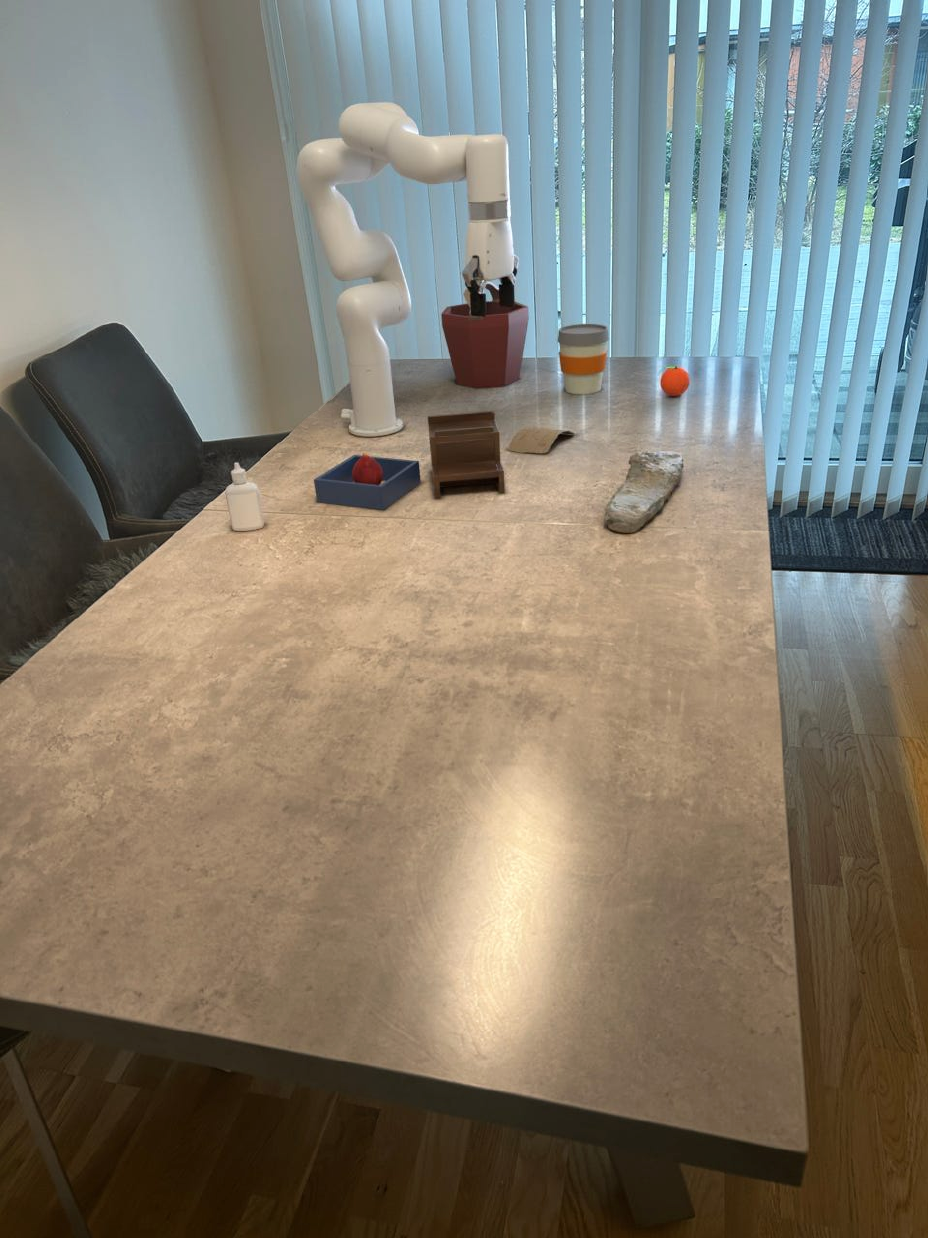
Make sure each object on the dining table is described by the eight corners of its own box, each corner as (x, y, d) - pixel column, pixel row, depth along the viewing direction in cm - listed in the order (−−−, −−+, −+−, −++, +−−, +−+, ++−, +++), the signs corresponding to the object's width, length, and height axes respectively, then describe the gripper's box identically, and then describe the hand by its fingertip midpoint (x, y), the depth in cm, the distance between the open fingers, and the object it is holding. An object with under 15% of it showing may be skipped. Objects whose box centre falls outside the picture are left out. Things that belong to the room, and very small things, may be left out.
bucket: (496, 395, 226) (491, 292, 214) (425, 387, 237) (417, 289, 225) (542, 372, 244) (540, 275, 232) (475, 366, 255) (469, 273, 243)
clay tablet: (548, 455, 183) (547, 442, 182) (505, 449, 188) (504, 437, 186) (577, 435, 193) (577, 423, 192) (536, 430, 198) (536, 418, 197)
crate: (317, 502, 168) (313, 479, 165) (356, 476, 179) (354, 454, 177) (384, 510, 162) (381, 486, 160) (421, 482, 173) (419, 460, 171)
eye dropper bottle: (255, 533, 156) (242, 468, 150) (228, 530, 158) (215, 466, 152) (268, 524, 159) (257, 460, 154) (242, 521, 161) (230, 457, 156)
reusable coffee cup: (553, 385, 231) (553, 325, 224) (601, 381, 232) (602, 321, 225) (563, 397, 220) (563, 335, 213) (613, 393, 221) (614, 331, 214)
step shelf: (504, 493, 166) (502, 433, 160) (435, 499, 165) (430, 439, 160) (496, 466, 179) (493, 410, 173) (432, 472, 178) (427, 415, 173)
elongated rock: (588, 537, 149) (647, 547, 145) (590, 509, 146) (650, 518, 142) (641, 459, 175) (692, 466, 172) (643, 434, 172) (695, 440, 169)
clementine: (650, 397, 216) (652, 367, 212) (662, 390, 221) (664, 361, 217) (682, 400, 212) (683, 370, 208) (693, 393, 217) (695, 364, 213)
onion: (390, 488, 172) (386, 448, 168) (375, 499, 167) (370, 458, 163) (364, 485, 174) (359, 446, 170) (349, 496, 169) (343, 455, 166)
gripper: (497, 207, 168) (501, 301, 177) (444, 217, 156) (450, 318, 164) (531, 207, 164) (533, 303, 173) (479, 217, 152) (484, 321, 160)
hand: (493, 310), depth 168 cm, fingers open, 9 cm apart
